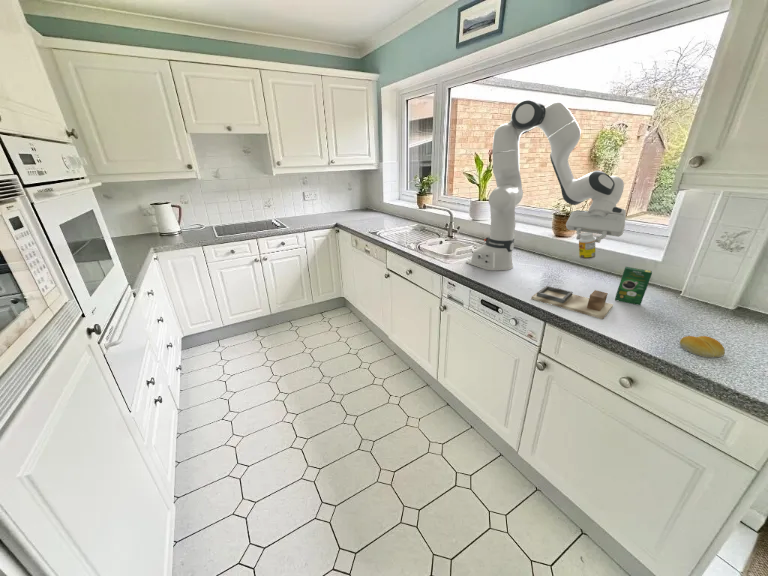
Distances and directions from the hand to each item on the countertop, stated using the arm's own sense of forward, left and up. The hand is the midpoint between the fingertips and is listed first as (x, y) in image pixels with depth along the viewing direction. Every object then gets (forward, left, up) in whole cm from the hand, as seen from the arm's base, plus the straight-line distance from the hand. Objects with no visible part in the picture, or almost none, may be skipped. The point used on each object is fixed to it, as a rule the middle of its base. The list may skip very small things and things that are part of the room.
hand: (587, 240), depth 128 cm
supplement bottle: (+2, 0, -7) cm, 7 cm away
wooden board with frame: (+4, -22, -19) cm, 29 cm away
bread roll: (+40, -30, -19) cm, 54 cm away
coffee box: (+19, -7, -19) cm, 28 cm away
